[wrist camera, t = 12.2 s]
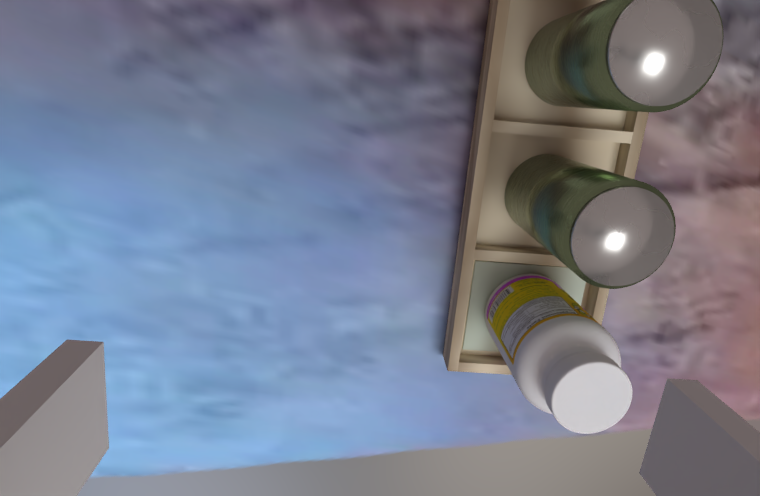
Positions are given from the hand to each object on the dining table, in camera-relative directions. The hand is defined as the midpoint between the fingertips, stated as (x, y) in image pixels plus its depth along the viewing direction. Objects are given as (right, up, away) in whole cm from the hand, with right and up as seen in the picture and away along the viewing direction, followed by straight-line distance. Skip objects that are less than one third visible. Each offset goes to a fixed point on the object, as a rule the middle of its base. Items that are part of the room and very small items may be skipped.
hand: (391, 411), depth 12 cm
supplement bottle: (+11, -1, +30) cm, 32 cm away
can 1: (+13, +17, +24) cm, 32 cm away
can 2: (+12, +8, +27) cm, 31 cm away
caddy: (+12, +8, +28) cm, 32 cm away
